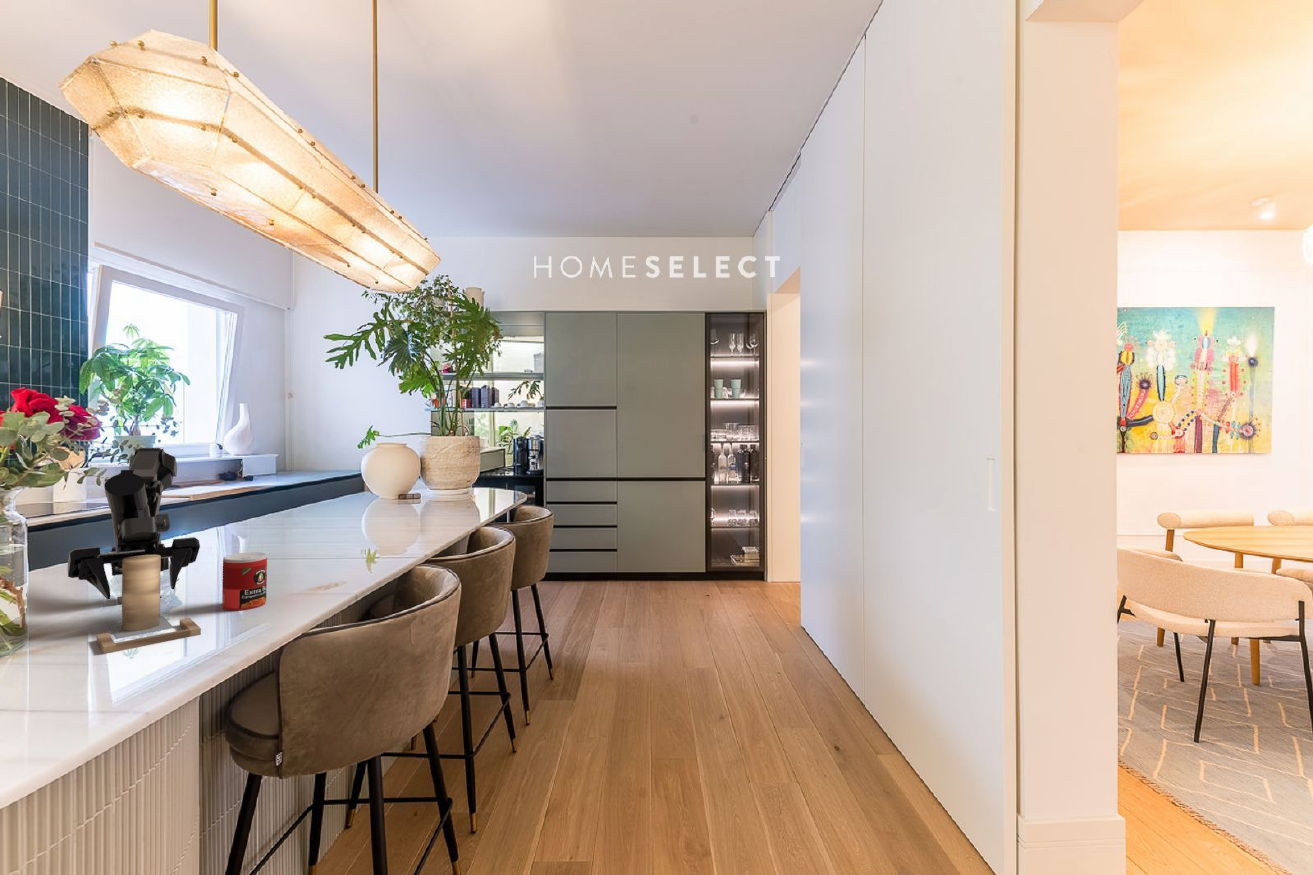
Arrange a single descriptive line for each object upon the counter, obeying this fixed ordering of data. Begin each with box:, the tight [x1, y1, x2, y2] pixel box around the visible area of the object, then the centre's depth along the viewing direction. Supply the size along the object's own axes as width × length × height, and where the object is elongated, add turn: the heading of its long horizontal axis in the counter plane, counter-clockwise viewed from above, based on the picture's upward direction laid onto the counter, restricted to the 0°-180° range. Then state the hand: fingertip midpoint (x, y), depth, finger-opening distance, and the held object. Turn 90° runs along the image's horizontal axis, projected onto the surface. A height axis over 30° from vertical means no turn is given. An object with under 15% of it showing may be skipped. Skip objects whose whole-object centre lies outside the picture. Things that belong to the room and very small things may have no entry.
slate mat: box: [108, 615, 175, 639], centre depth 110 cm, size 10×8×1 cm
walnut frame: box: [96, 617, 202, 655], centre depth 105 cm, size 9×13×2 cm, turn 140°
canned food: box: [221, 551, 268, 612], centre depth 124 cm, size 8×8×11 cm
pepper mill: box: [121, 555, 161, 631], centre depth 110 cm, size 5×5×13 cm
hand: (142, 592), depth 109 cm, fingers open, 9 cm apart
